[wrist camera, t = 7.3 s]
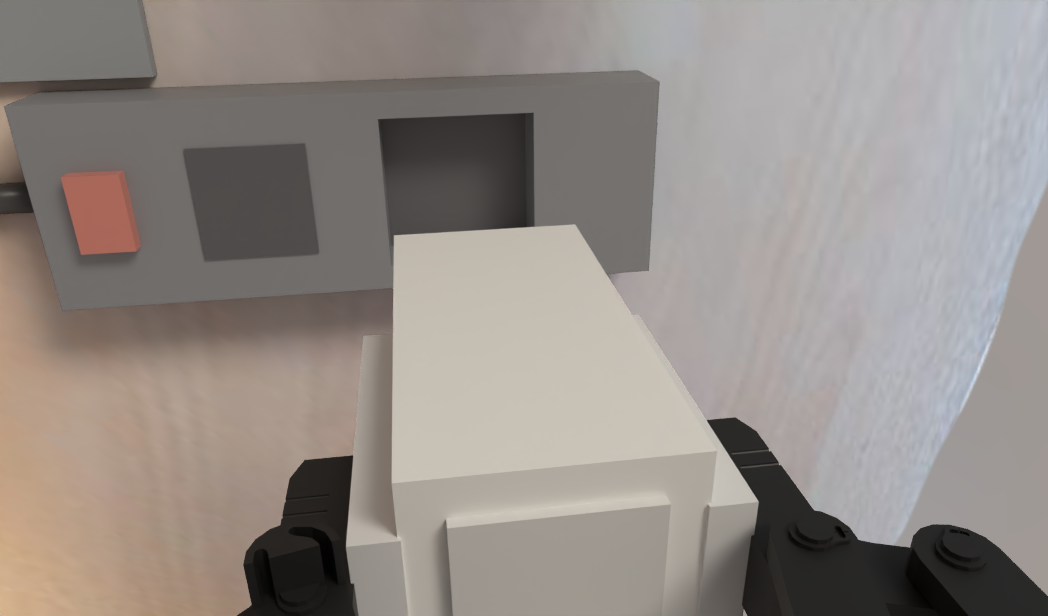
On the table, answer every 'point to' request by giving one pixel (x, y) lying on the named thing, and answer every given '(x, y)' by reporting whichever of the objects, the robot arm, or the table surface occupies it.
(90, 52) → the mat
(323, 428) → the table surface
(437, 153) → the power strip
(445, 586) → the block
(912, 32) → the table surface
